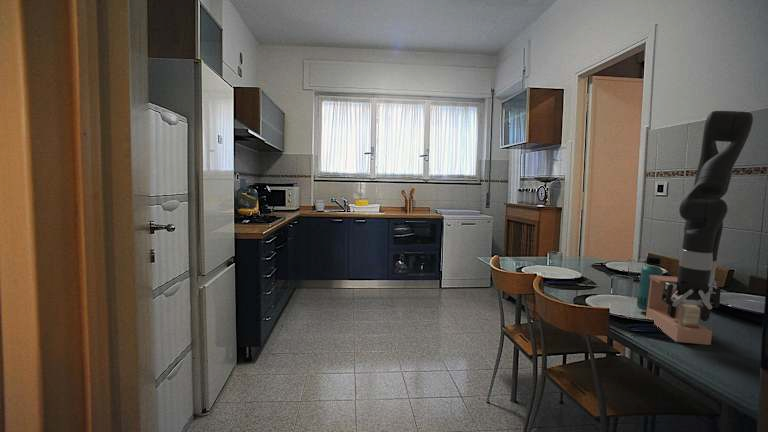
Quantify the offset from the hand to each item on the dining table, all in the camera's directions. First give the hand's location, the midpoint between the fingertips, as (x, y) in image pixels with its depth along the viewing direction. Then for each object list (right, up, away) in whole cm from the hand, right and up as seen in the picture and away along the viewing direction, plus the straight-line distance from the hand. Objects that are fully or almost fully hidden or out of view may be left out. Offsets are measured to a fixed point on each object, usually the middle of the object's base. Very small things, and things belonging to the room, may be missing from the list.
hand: (687, 318), depth 118 cm
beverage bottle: (+1, -3, +21) cm, 21 cm away
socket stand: (+1, -5, +6) cm, 8 cm away
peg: (0, -6, +1) cm, 6 cm away
